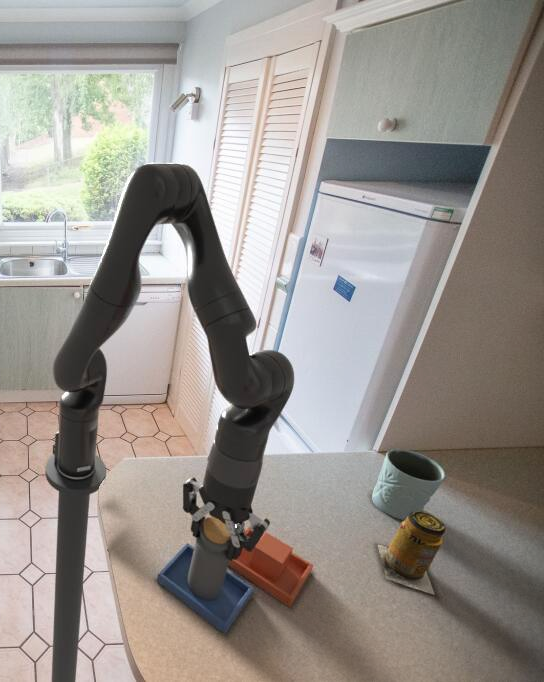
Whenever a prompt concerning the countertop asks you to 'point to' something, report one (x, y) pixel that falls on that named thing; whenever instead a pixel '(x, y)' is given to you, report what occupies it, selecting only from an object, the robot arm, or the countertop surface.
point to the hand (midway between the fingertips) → (213, 545)
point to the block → (270, 556)
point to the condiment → (413, 550)
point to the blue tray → (213, 611)
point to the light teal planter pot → (406, 483)
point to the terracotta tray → (285, 584)
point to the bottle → (209, 560)
